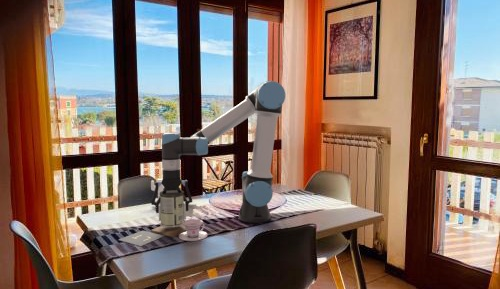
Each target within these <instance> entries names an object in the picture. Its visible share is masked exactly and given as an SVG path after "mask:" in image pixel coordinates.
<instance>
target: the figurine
mask: <svg viewBox="0 0 500 289" xmlns="http://www.w3.org/2000/svg"><path fill="white" fill-rule="evenodd" d="M162 180H163V178H162V177H161V178H157V180H156V181H158V182H161V181H162ZM155 187H156V186H155V180H153V179H152V180H150V189H151V191H153V192H154V191H155ZM163 189H164V186H163V185H162V184H161V185H160V187H159V188H158V192H157V197H156V199H155V202H157V200H158V198H159V196H160V192H161V191H163ZM159 205H160V204H159Z"/></svg>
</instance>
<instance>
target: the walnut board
mask: <svg viewBox="0 0 500 289" xmlns="http://www.w3.org/2000/svg"><path fill="white" fill-rule="evenodd" d="M185 231H187V230H186V228H185V226H184V224H183V225H181V226H178V227H163V226H161V225H160V226H158V227H155V228H153V229H151V230H150V232H151V233H155V234H159V235H163V236H167V237H171V238H175V237H177V236H178V237H179V234H181V233H183V232H185Z"/></svg>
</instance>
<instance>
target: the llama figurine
mask: <svg viewBox="0 0 500 289" xmlns="http://www.w3.org/2000/svg"><path fill="white" fill-rule="evenodd" d="M197 209H198V210H200V211H202V212H203V213H204V214H206V215H209V211H207V210H205V209H203V208H202V206H199V205H198V204H197V203H189V204H188V211H186V218H187V217H189V218H192V217H195V218H199V219H202V220H203V219H204V221H206V220H207V217H206V216H203V215H199V214H195V213H194V210H197Z"/></svg>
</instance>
